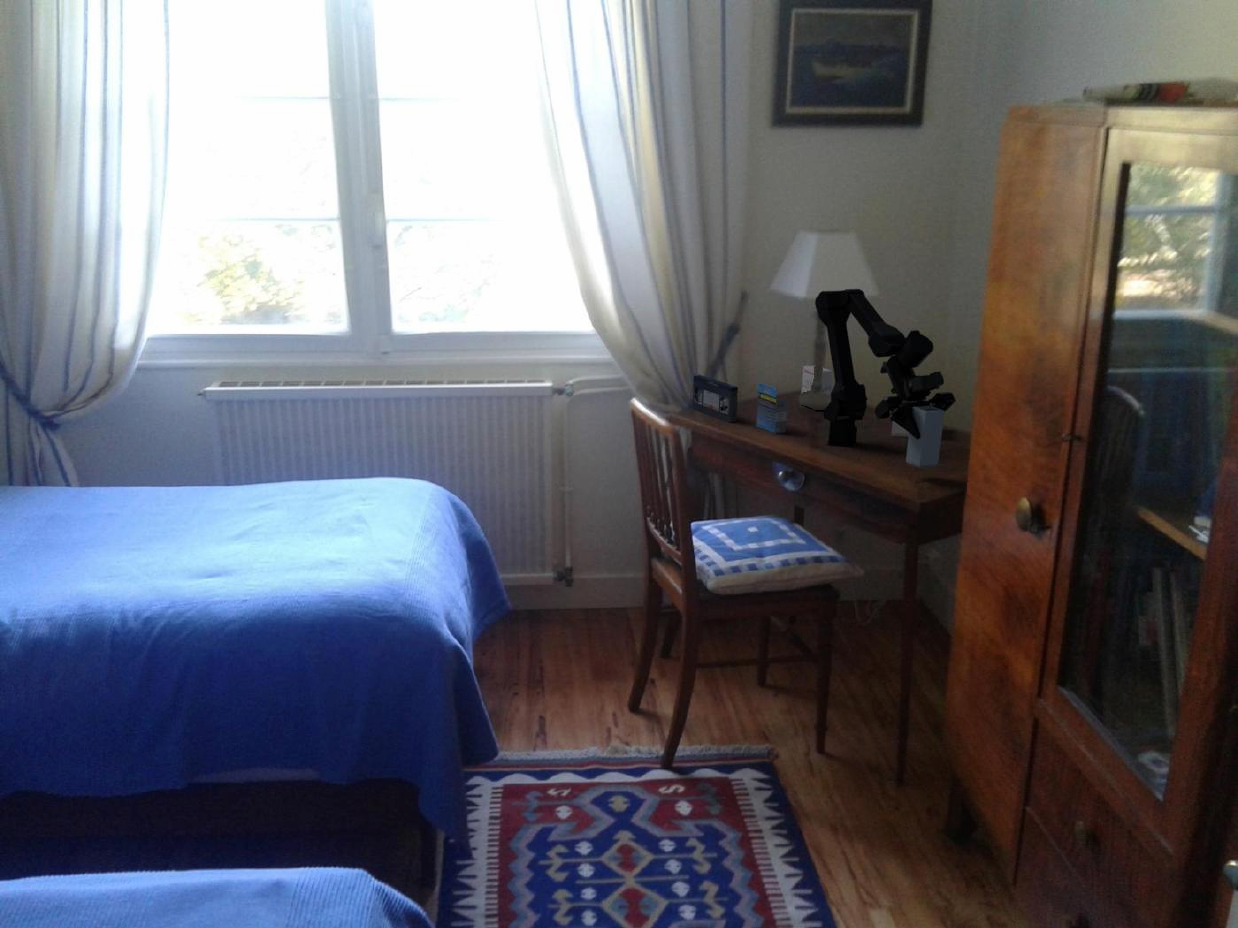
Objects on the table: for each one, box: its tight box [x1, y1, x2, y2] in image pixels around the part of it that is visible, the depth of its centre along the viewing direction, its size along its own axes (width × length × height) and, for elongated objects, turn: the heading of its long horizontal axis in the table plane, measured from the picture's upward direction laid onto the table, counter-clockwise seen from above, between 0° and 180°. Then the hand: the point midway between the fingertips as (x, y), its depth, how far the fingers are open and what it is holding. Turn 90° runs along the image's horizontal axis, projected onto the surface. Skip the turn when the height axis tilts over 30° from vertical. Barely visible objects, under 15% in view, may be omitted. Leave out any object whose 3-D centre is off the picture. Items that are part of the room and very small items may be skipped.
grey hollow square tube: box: [905, 406, 945, 469], centre depth 241 cm, size 5×5×13 cm
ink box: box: [800, 365, 833, 397], centre depth 308 cm, size 8×5×12 cm, turn 22°
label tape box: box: [756, 381, 788, 435], centre depth 283 cm, size 9×4×12 cm, turn 27°
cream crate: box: [890, 421, 909, 438], centre depth 284 cm, size 12×12×4 cm
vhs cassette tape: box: [692, 374, 739, 424], centre depth 297 cm, size 18×3×10 cm, turn 28°
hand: (928, 437), depth 240 cm, fingers closed on grey hollow square tube, 5 cm apart
